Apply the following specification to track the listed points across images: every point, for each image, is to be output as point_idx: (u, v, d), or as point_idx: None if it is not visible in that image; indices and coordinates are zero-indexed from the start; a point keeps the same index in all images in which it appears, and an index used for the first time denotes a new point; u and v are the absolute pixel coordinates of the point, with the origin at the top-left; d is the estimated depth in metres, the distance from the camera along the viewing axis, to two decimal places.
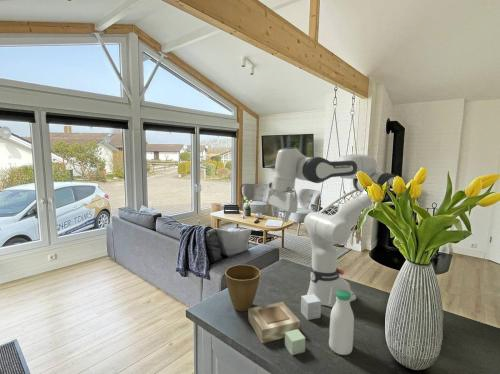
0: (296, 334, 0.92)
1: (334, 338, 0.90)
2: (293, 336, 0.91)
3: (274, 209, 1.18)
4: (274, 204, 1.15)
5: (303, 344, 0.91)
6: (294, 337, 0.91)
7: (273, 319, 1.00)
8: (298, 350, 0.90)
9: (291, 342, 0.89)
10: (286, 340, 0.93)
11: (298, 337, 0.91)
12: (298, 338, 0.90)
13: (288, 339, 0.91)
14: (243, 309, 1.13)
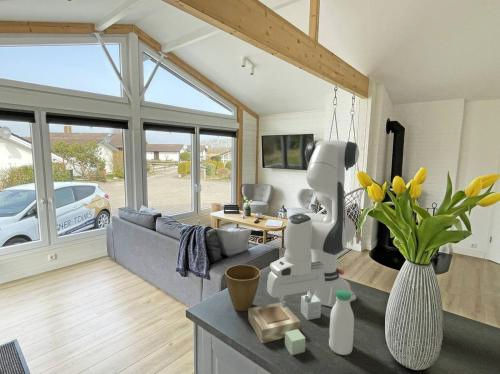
0: (296, 334, 0.92)
1: (334, 338, 0.90)
2: (293, 336, 0.91)
3: None
4: (291, 292, 0.87)
5: (303, 344, 0.91)
6: (294, 337, 0.91)
7: (273, 319, 1.00)
8: (298, 350, 0.90)
9: (291, 342, 0.89)
10: (286, 340, 0.93)
11: (298, 337, 0.91)
12: (298, 338, 0.90)
13: (288, 339, 0.91)
14: (243, 309, 1.13)
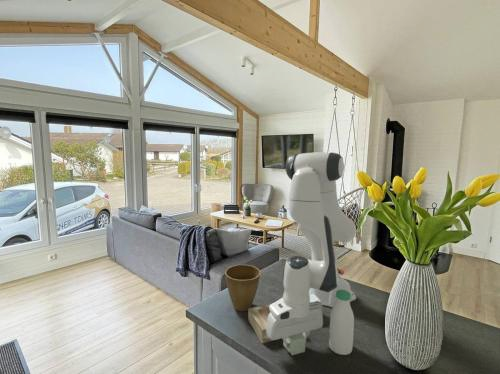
0: (296, 334, 0.92)
1: (334, 338, 0.90)
2: (293, 336, 0.91)
3: None
4: (290, 333, 0.89)
5: (303, 344, 0.91)
6: (294, 337, 0.91)
7: None
8: (298, 350, 0.90)
9: (291, 342, 0.89)
10: None
11: (298, 337, 0.91)
12: (298, 338, 0.90)
13: (288, 339, 0.91)
14: (243, 309, 1.13)
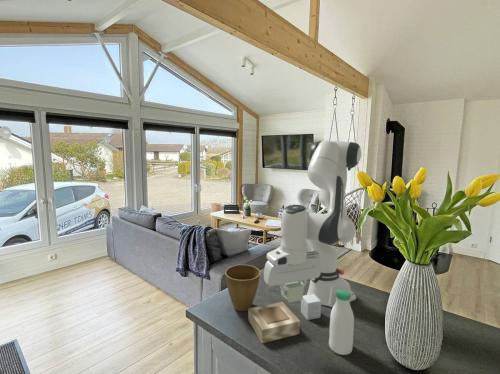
0: (294, 283, 0.92)
1: (334, 338, 0.90)
2: (290, 284, 0.91)
3: (282, 286, 0.90)
4: (287, 280, 0.89)
5: (301, 292, 0.91)
6: (292, 285, 0.91)
7: (273, 319, 1.00)
8: (296, 297, 0.90)
9: (289, 289, 0.89)
10: None
11: (295, 285, 0.91)
12: (296, 286, 0.90)
13: (286, 287, 0.91)
14: (243, 309, 1.13)
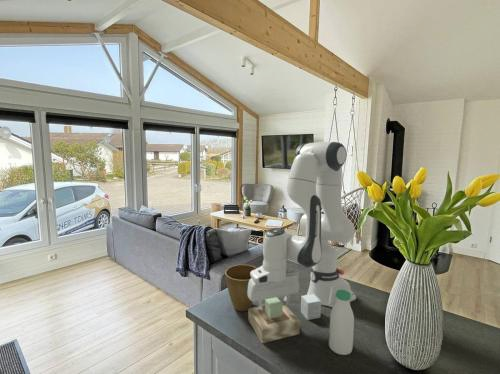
0: (274, 301, 1.03)
1: (334, 338, 0.90)
2: (271, 302, 1.02)
3: (260, 302, 1.01)
4: (268, 296, 1.00)
5: (280, 309, 1.01)
6: (273, 303, 1.02)
7: (273, 319, 1.00)
8: (276, 314, 1.01)
9: (270, 307, 1.00)
10: (266, 306, 1.03)
11: (276, 303, 1.02)
12: (276, 304, 1.01)
13: (267, 305, 1.02)
14: (243, 309, 1.13)
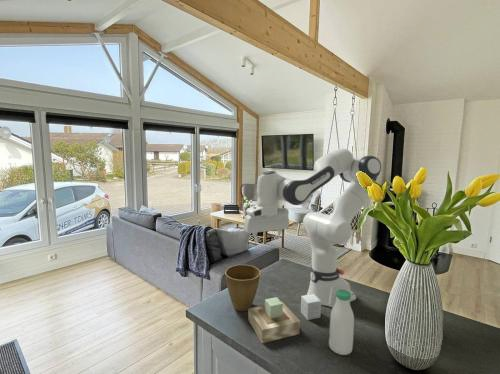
0: (274, 301, 1.03)
1: (334, 338, 0.90)
2: (271, 302, 1.02)
3: (255, 235, 1.15)
4: (262, 229, 1.15)
5: (280, 309, 1.01)
6: (273, 303, 1.02)
7: (273, 319, 1.00)
8: (276, 314, 1.01)
9: (270, 307, 1.00)
10: (266, 306, 1.03)
11: (276, 303, 1.02)
12: (276, 304, 1.01)
13: (267, 305, 1.02)
14: (243, 309, 1.13)
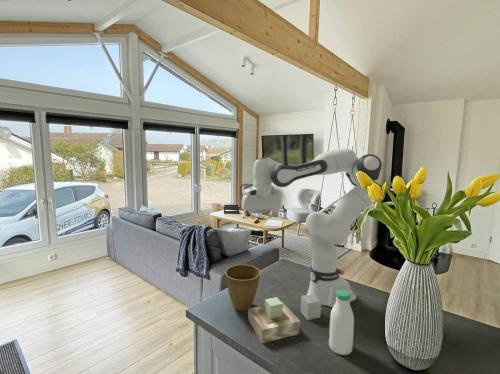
0: (274, 301, 1.03)
1: (334, 338, 0.90)
2: (271, 302, 1.02)
3: None
4: (257, 208, 1.31)
5: (280, 309, 1.01)
6: (273, 303, 1.02)
7: (273, 319, 1.00)
8: (276, 314, 1.01)
9: (270, 307, 1.00)
10: (266, 306, 1.03)
11: (276, 303, 1.02)
12: (276, 304, 1.01)
13: (267, 305, 1.02)
14: (243, 309, 1.13)
